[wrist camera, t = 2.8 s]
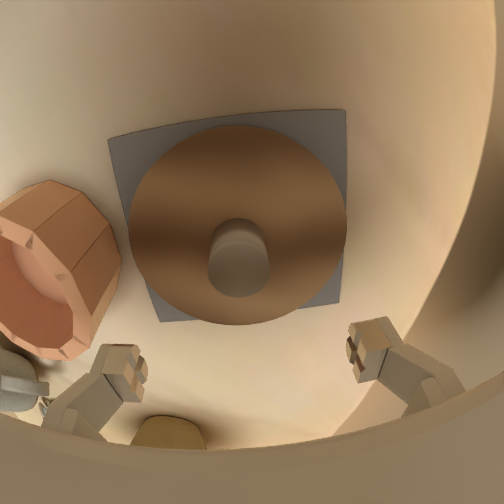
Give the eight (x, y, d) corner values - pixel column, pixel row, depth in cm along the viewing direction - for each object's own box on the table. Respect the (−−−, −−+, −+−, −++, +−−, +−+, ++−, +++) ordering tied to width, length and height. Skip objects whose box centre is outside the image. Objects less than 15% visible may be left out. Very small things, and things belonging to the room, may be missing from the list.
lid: (116, 145, 15) (78, 164, 11) (337, 118, 15) (374, 127, 11) (164, 316, 21) (152, 364, 17) (333, 298, 21) (352, 344, 17)
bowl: (-7, 200, 16) (-53, 233, 10) (95, 166, 16) (44, 198, 11) (39, 309, 21) (11, 354, 16) (138, 304, 21) (117, 363, 16)
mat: (110, 138, 15) (107, 139, 15) (342, 110, 15) (345, 110, 15) (161, 318, 22) (159, 322, 22) (337, 298, 22) (338, 302, 22)
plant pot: (152, 447, 36) (144, 533, 22) (97, 400, 29) (71, 510, 15) (242, 443, 35) (249, 540, 21) (205, 395, 28) (203, 536, 14)
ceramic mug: (18, 348, 26) (4, 396, 23) (-26, 328, 19) (-41, 384, 16) (68, 388, 24) (52, 442, 21) (16, 376, 17) (1, 441, 13)
